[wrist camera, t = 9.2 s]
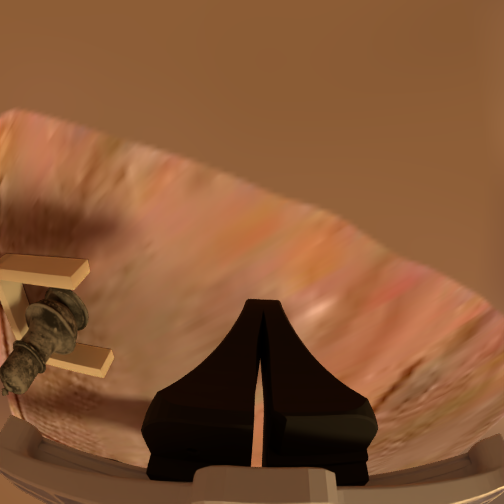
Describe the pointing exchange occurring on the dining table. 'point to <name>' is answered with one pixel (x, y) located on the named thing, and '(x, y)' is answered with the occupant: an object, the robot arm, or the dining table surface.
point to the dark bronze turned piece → (43, 338)
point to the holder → (50, 275)
